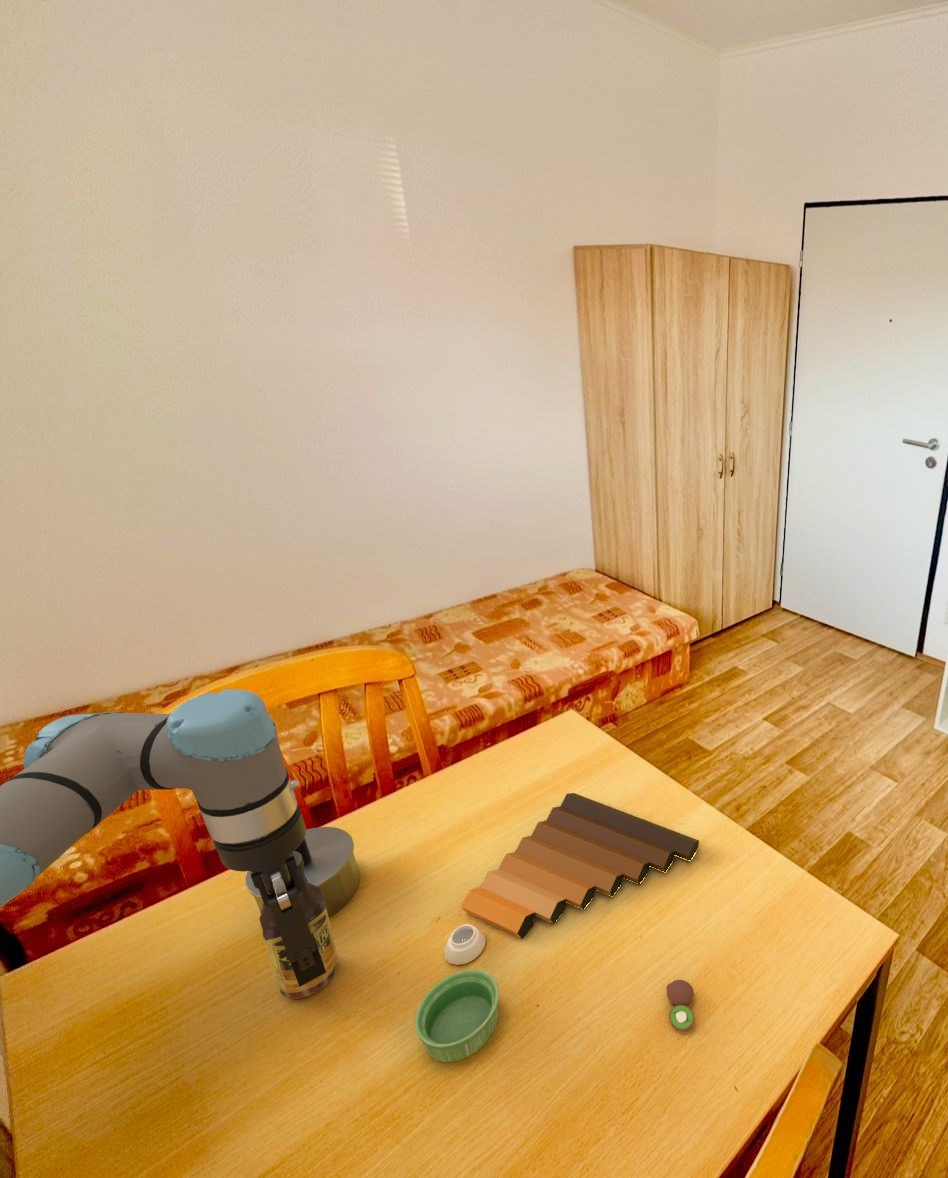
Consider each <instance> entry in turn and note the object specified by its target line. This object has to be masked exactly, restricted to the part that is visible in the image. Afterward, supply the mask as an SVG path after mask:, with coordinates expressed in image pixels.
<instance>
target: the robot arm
mask: <svg viewBox="0 0 948 1178" xmlns="http://www.w3.org/2000/svg"><path fill="white" fill-rule="evenodd" d="M278 738H279V737H278V733H277V726H276V723H275V722H274V720H273V719H272V717H271V715H270V713H269V711H268V708H267V706H266V704H265V702H264V700H263V699H262V697H260V695H259V694H257V693H255V692H252V691H250V690H248V689H235V688H233V689H232V688H231V689H229V688H227V689H223V690H221V691H219V692H207V693H204V694H203V693H202V694H200V695H197V696H194V697H192V698H190V699H188V700H187V701H185V702H183V703H180V705H178V706H176V708H174V709H173V710H172V711H171V712H170V713H145V712H143V713H142V712H136V713H135V712H122V711H109V712H106V711H103V712H99V713H79V714H70V715H66V716H63V717H62V716H61V717H60V718H57V719H55V720H53V721H51V722H49V723H48V724H47V725H45V726H43V727H42V728H41V729H40V730H39V731H38V732H37V737H36V738H35V739H34V741H33V742H31V743H29V744H28V746H27V747H26V749H25V753H24V757H23V770H21V771H19V772H18V773H17V774H15V775H14V776H12V777H10V778H9V779H7V780H6V781H5V782H3V783H1V784H0V909H1V908H3V906H5V905H6V904H7V903H9V902H11V901H12V900H13V899H15V898H16V897H17V896H19V895H20V894H21V893H23V892H24V891H26V890H27V889H28V888H30V887H31V886H32V885H33V884H34V883H35V881H36V880H37V878H38V877H39V876H40V875H41V874H42V873H44V872H45V871H46V870H47V869H48V868H49V867H50V866H51V865H52V864H54V863H55V862H57V860H58V859H60V858H61V857H62V856H63V855H64V854H65V853H66V852H67V851H68V850H70V849H71V848H72V847H73V846H74V845H75V844H76V843H78V841H79V840H81V839H82V838H83V837H84V836H86V835H87V834H88V833H90V832H91V831H92V830H94V829H95V828H96V827H97V826H99V825H100V824H101V823H102V822H103V821H104V820H106V819H107V818H108V817H109V816H110V815H111V814H112V813H114V812H115V811H116V810H117V809H118V808H120V807H121V806H122V805H123V804H124V803H126V802H127V800H129V799H130V798H131V797H132V796H133V795H134V794H136V793H137V792H140V791H157V790H158V791H159V790H161V791H162V790H166V791H167V790H178V789H187V790H190V791H191V792H192V794H193V796H194V798H195V800H196V803H197V806H198V811H199V812H200V815H201V817H202V820H203V822H204V825H205V827H206V829H207V832H208V835H209V837H210V838H211V840H213V841H212V842H213V844H214V847H215V850H216V852H217V855H218V857H219V860H220V862H221V863H222V865H223V866H224V867H225V868H227V869H229V870H230V871H234V872H247V871H251V872H252V873H250V875H251V878H252V881H253V884H254V886H255V888H257V889H259V891H260V894H261V897H262V900H263V903H264V905H265V906H266V907H268V908H270V909H271V912H272V914H273V917H274V919H275V922H276V925H277V927H278V930H279V933H280V935H281V938H282V941H283V943H284V946H285V949H284V950H282V951H280V952H279V956H280V959H283V958H285V957H287V959H288V961H289V962H290V963H291V966H292V969H293V971H294V974H295V976H296V979H297V982H298V984H299V987H300V986H302V985H304V984H306V983H308V982H310V981H311V980H313V979H315V978H317V977H319V976H321V975H322V974H324V973H326V970H325V967H324V964H323V961H322V958H321V955H320V952H319V949H318V947H317V944H316V941H315V938H314V935H313V933H312V934H311V932H310V929H309V926H308V923H307V920H306V917H305V914H304V911H303V908H302V905H301V902H300V899H299V896H298V894H299V893H300V892H301V890H302V888H301V885H300V882H299V879H298V876H297V870H298V867H297V864H296V861H295V858H294V855H292V856H290V857H288V856H289V855H290V854H293V851H295V850H296V849H297V848H298V846H299V845H300V844H301V843H302V841H303V839H304V837H305V834H306V830H307V826H306V823H305V820H304V817H303V814H302V811H301V808H300V806H299V805H298V801H297V797H296V794H295V791H294V790H295V789H297V788H299V787H300V781H299V780H297V779H293V780H291V778H290V773H289V772H288V769H287V768H286V765H285V761H284V758H283V754H282V750H281V746H280V741H279V739H278ZM287 857H288V858H287ZM288 870H290V873H291V876H292V879H293V882H294V884H293V885H292V886H290V887H288V886H289V885H290V884H291V877H290V874H289V871H288ZM265 887H266V888H265ZM286 887H288V888H286ZM266 889H267V891H268V892H269V893H273V894H271V895H269V894H267V891H266Z"/></svg>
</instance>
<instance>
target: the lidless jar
mask: <svg viewBox="0 0 948 1178" xmlns="http://www.w3.org/2000/svg"><path fill="white" fill-rule="evenodd" d="M462 939H463V941H462ZM464 939H465V940H464ZM486 941H487V940H486V935H485V932H483V931H482V930H481V929H480V928H478V927H476V926H474V925H472V924H468V923H465V924H462V925H459V926H458V927H456V928H455V929H454V930H453V931H452V932H451V933H450V936H449V937H448V940H447V941H446V943H445V945H444V949H443V953H444V954H443V955H444V958H445V961H447V962H448V963H449V964H451V965H456V966H459V965H465V964H468V963H470V962H472V961H474V960H475V959H476V958H477V957H478V956H480V955H481V953H482V952H483V951H484V949H485V947H486V943H487V942H486Z"/></svg>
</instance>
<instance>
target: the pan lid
mask: <svg viewBox="0 0 948 1178" xmlns="http://www.w3.org/2000/svg"><path fill="white" fill-rule="evenodd" d="M354 850H355V843H354V839H353V837H352V836H351V835H350V833H349V832H347V831H346V830H344V829H342V828H339V827H334V826H319V827H311V828H306V834H305V837H304V839H303V841H302V843H301V844H300V845H299V846H298V848H297V849H296V850H295V851H296V852H299V853H300V854H301V855H302V858H303V861H304V868H303V870H304V874H305V877H306V879H307V882H308V883H310V884H313V885H315V886H317V887H320V886H322V885H324V884H325V883H327V882H328V881H330V880H331V879H333V878H334V877H335V876H336V875H337V874H338V873H339V872H341V871H342V870H343V868H344V867H345V866H346V865H347V863H348V862H349V860H350V859H351V857H352V854H353V853H354ZM250 873H252V872H251V871H246V875H245V878H244V879H245V880H244V882H245V887H246V889H247V892H248V893H249V894H250V895H252V896H253V897H254V896H255V897H257V898H259V899H262V897H261V894H260V891H259V889H257V888H255V886H254V884H253V881H252V878H251V875H250ZM255 897H254V898H255Z"/></svg>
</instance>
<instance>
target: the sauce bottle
mask: <svg viewBox="0 0 948 1178" xmlns="http://www.w3.org/2000/svg"><path fill="white" fill-rule="evenodd" d="M292 855H294V858H295V861H296V864H297V867H298V870H297V876H298V879H299V882H300V885H301V888H302V890H301V892H300V893H299V894H298V896H299V899H300V902H301V905H302V908H303V911H304V914H305V917H306V920H307V923H308V926H309V929H310V932H311V934H312V933H313V935H314V938H315V941H316V944H317V947H318V949H319V952H320V955H321V958H322V961H323V964H324V967H325V970H326V973H324V974H322V975H321V976H319V977H317V978H315V979H313V980H311V981H310V982H308V983H306V984H304V985H302V986H300V987H299V984H298V982H297V979H296V976H295V974H294V971H293V969H292V966H291V963H290V962H289V961H288V959H287V957H285V958H283V959H280V956H279V952H280V951H282V950H284V949H285V946H284V943H283V941H282V938H281V935H280V933H279V930H278V927H277V925H276V922H275V919H274V917H273V914H272V912H271V909H270V908H268V907H266V906H265V905H264V903H263V908H262V911H261V913H260V915H259V922H260V926H261V929H262V938H263V942H264V946H265V948H266V953H267V956H268V960H269V962H270V966H271V969H272V973H273V976H274V980H275V983H276V986H277V988H278V989H279V991H280V994H281V995H282V996H283V997H284V998H287V999H289V1000H300V999H303V998H307V997H310V996H312V995H315V994H316V993H318V992H320V991H321V990H322V989H323V988H325V986H326V985H328V984H329V982H330V981H331V980H332V979H333V978H334V976H335V974H336V971H337V967H338V953H337V949H336V945H335V940H334V936H333V931H332V927H331V922H330V917H328V913H327V909H326V906H325V903H324V900H323V896H322V893H321V890H320V888H319V887H317V886H315V885H313V884H310V883H308V882H307V879H306V877H305V874H304V870H303V868H304V861H303V858H302V855H301V854H300V853H299V852H296V851H293V854H290V855H289V856H288V857H290V856H292ZM288 857H287V858H288ZM288 871H289V874H290V877H291V884H290V885H289V886H288V887H290V886H292V885H293V884H294V882H293V879H292V876H291V873H290V870H288ZM288 887H286V888H288ZM265 888H266V887H265ZM266 891H267V889H266ZM267 894H269V895H271V894H273V893H269V892H268V891H267Z"/></svg>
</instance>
